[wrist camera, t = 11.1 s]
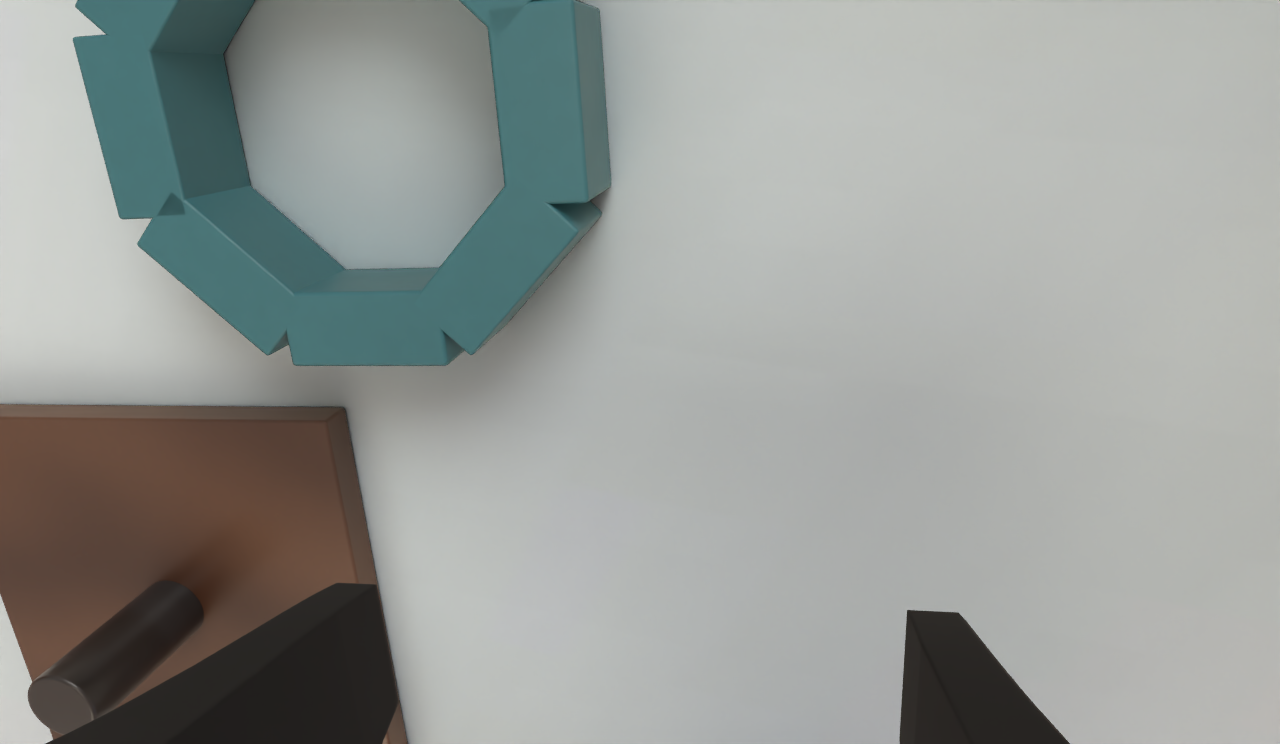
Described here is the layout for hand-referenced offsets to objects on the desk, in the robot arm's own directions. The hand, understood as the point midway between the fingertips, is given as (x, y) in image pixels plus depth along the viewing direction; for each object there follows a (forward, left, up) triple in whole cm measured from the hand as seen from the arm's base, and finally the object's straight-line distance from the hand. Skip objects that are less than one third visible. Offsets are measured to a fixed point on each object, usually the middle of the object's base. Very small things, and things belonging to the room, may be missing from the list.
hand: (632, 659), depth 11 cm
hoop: (+7, +7, -9) cm, 14 cm away
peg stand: (-6, +15, -9) cm, 19 cm away
